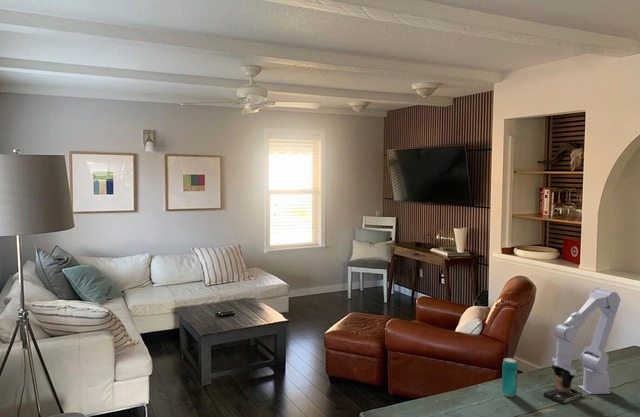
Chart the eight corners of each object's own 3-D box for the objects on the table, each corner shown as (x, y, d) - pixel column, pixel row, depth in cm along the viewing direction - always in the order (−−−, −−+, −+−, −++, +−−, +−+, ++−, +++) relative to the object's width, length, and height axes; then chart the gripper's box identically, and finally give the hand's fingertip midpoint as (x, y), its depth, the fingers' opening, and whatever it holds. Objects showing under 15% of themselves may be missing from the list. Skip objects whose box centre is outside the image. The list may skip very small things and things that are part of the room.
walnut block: (564, 386, 211) (565, 374, 211) (570, 390, 207) (571, 379, 206) (554, 386, 211) (554, 375, 211) (560, 391, 206) (560, 379, 206)
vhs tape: (560, 405, 202) (560, 400, 202) (543, 397, 209) (543, 392, 209) (582, 397, 208) (582, 393, 208) (565, 390, 215) (565, 386, 215)
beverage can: (517, 398, 207) (518, 363, 206) (503, 396, 208) (504, 362, 207) (515, 392, 212) (516, 358, 211) (500, 391, 214) (501, 357, 213)
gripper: (545, 347, 215) (544, 378, 216) (565, 360, 200) (563, 392, 201) (561, 347, 215) (560, 377, 216) (581, 359, 201) (580, 392, 202)
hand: (562, 385), depth 209 cm, fingers closed on walnut block, 4 cm apart
